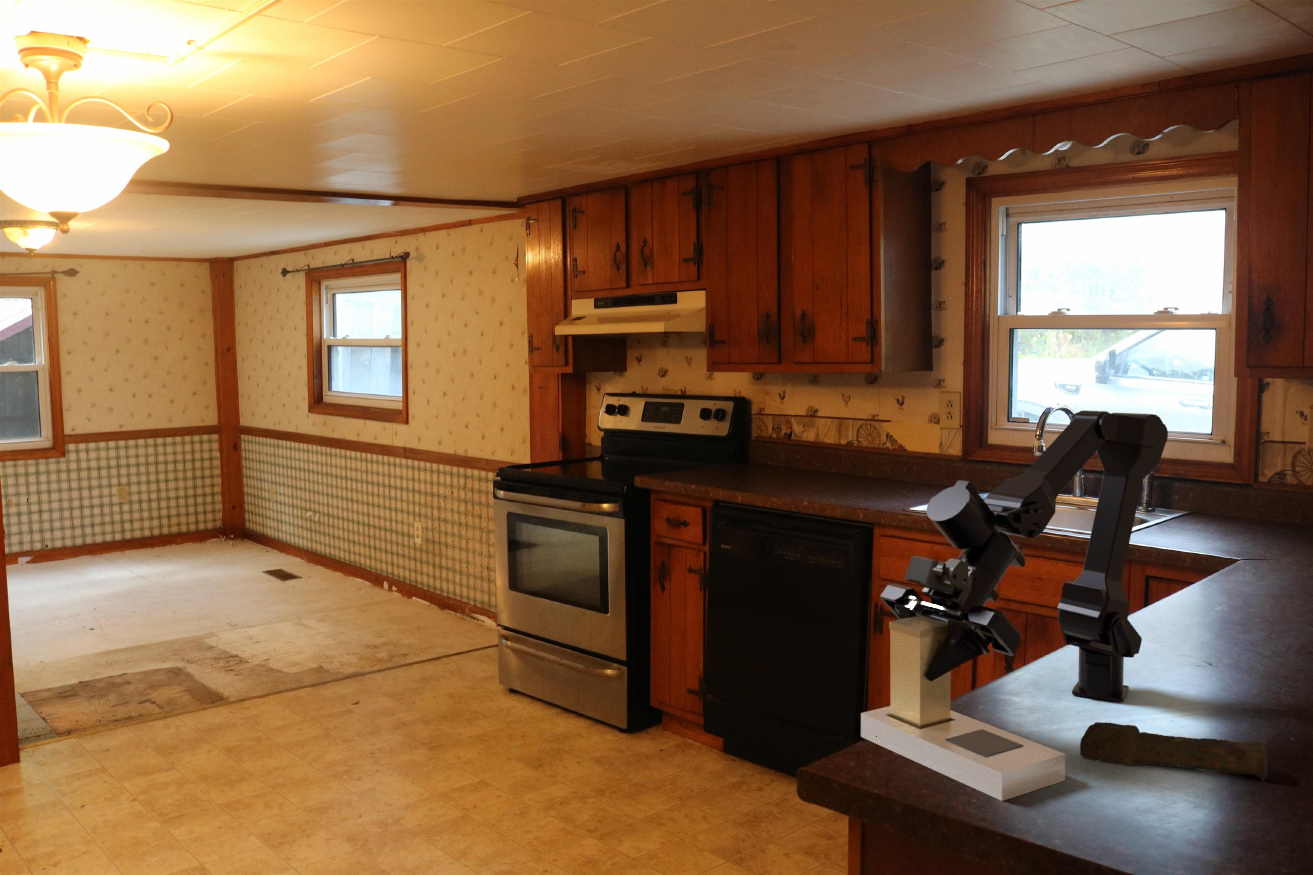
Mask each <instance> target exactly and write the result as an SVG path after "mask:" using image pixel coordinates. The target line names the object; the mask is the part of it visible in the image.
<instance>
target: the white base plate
mask: <svg viewBox="0 0 1313 875" xmlns="http://www.w3.org/2000/svg"><path fill="white" fill-rule="evenodd" d="M876 736H877V737H876ZM860 737H861V738H863V739H865V740H867V741H869V742H872V743H874V744H876V745H879V746H880V747H882V748H885V749H887V750H890V751H892V752H893V753H896V754H898V755H900V756H902V757H904V758H907V759H909V760H911V761H914V762H916V763H918V764H919V765H922V766H924V767H926V768H929V769H931V770H933V771H935V772H938V773H940V774H941V775H944V776H946V777H948V778H950V779H953V780H955V781H958V782H960V783H961V784H963V785H966V786H968V787H970V788H973V789H974V790H977V791H979V792H981V793H983V794H986V795H988V796H990V797H993V798H994V799H997V800H999V801H1001V802H1003V801H1006V800H1010V799H1012V798H1016V797H1019V796H1022V795H1025V794H1028V793H1030V792H1031V793H1032V792H1034V791H1037V790H1039V789H1043V788H1046V787H1049V786H1052V785H1055V784H1059V783H1062V782H1064V781H1066V753H1065V752H1061V751H1059V750H1056V749H1054V748H1052V747H1048V746H1046V745H1043V744H1041V743H1038V742H1035V741H1033V740H1030V739H1027V738H1024V737H1023V736H1019V735H1017V734H1015V733H1011V732H1009V731H1006V730H1004V729H1001V728H998V727H995V726H993V725H990V724H988V723H986V722H983V721H980V720H977V719H974V718H972V717H970V716H967V715H964V714H961V713H959V712H956V711H954V710H952V709H950V722H946V723H943V724H939V725H935V726H931V727H927V728H923V729H917V728H915V727H913V726H910V725H908V724H905V723H903V722H901V721H898V720H896V719H893V718H891V706H890V705H889V706H884V707H881V708H877V709H873V710H872V709H871V710H868V711H864V712H861V713H860Z"/></svg>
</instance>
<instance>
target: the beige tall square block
mask: <svg viewBox="0 0 1313 875" xmlns="http://www.w3.org/2000/svg"><path fill="white" fill-rule="evenodd" d="M947 628H948V623H945V622H942V621H938V620H935V619H931V618H928V617H924V616H921V615H920V616H915V617H910V618H905V619H900V620H899V619H896V620H890V621H888V629H889V631H890V633H889V635H890V640H889V641H890V643H889V644H890V648H889V649H890V650H889V651H890V652H889V654H890V657H889V659H890V660H889V662H890V663H889V664H890V670H889V671H890V672H889V673H890V677H889V678H890V684H889V685H890V693H889V694H890V695H889V696H890V699H889V701H890V705H889V706H891V718H893V719H896V720H898V721H901V722H903V723H905V724H908V725H910V726H913V727H915V728H917V729H923V728H927V727H931V726H935V725H939V724H943V723H946V722H950V710H951V694H952V693H951V692H952V691H951V689H952V688H951V687H952V686H951V684H952V683H951V679H952V678H951V673H952V672H951V671H952V670H951V671H949V672H948V673H946V674H944V675H942V676H941V677H939V678H937V679H935V680H934V681H929V680H928V679H927V678H926V677H925V675H926V673H927V670H928V668H929V666H930V664H931V662H932V661H933V659H934V657H935V656H936V654H937V652H938V651H939V649H940V647H941V645H942V644H943V642H944V640H945V639H946V637H947Z"/></svg>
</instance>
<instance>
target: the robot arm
mask: <svg viewBox="0 0 1313 875" xmlns="http://www.w3.org/2000/svg"><path fill="white" fill-rule="evenodd" d="M1168 438H1169V432H1168V428H1167V426H1166V424H1164V422H1163V420H1162V419H1161V417H1160V416H1158V415H1157V414H1153V413H1133V412H1112V413H1111V412H1109V411H1107V410H1104V411H1103V410H1084V409H1083V410H1080V411H1078V412H1075V413H1073V415H1072V416H1071V418H1070V421H1069V424H1068V425H1067V426H1065V428H1064V429H1063V430H1062V431H1061V432H1060V434H1059V435H1058V436H1057V437H1055V439H1054V440H1053V442H1052V443H1051V444H1049V446H1047V448H1046V449H1045V450H1044V451H1043V452H1042V453H1041V455H1040V456H1039V457H1038V458H1037V459H1036V460H1035V461H1034V462H1033V463H1032V464H1031V465H1030V466H1029V467H1028V468H1027V469H1026V471H1024V472H1023V473H1021V474H1020V475H1016V476H1014V477H1011V478H1009V479H1007V480H1005V481H1003V482H1001V483H1000V484H999V485H998V486H996V487H994V489H992V490H991V491H990V492H989V493H988V494H987V496H986V497H985V498H982V496H981V495H980V493H979V492H978V490H977V488H976V486H975V485H974V484H973V482H972V481H971V480H970V481H968V480H961V479H958V480H956V482H955V484H954V486H949V487H947V488H945V489H943V490H942V491H939V493H937V494H936V495H934V496H932V497H931V498H930V500H929V502H928V503H927V506H926V514H927V517H928V518H929V520H930V521H931V522H932V524H934V526H935V527H936V528H937V530H939V532H940V533H941V534H942V536H943V537H944V538H945V539H946V540H947V541H948V542H949V544H950V545H951V546H952V548H955V549H957V550H961V553H960V554H959V555H958V557H957V559H956V558H951V557H950V558H949V559H948V560H947V561H945V562H942V561H938V560H935V559H932V558H927V557H923V556H917V555H912V556H911V559H910V562H909V565H908V567H907V570H906V574H905V575H904V576H905V577H904V581H906V582H908V583H911V582H912V583H914V584H917V585H919V586H922V587H923V588H922V590H921V591H922V592H921V593H923V594H924V595H925V597H927V598H929V599H930V601H929V602H927V601H925V600H924V599H923V597H922V596H921V595H920V593H918V592H917V591H916V589H915V588H913V587H909V586H906V585H901V584H897V583H891V584H887V585H886V587H885V588H884V590H883V592H882V593H881V594H880V596H879V599H880V600H881V602H882V603H883V604H884V605H885V606H886V607H887V608H888V609H889V610H890V611H891V612H892V614H893V615H894V616H895V617H896V618H897V620H900V619H905V618H910V617H915V616H920V615H921V616H924V617H928V618H931V619H935V620H938V621H942V622H945V623H948V628H947V637H946V639H945V640H944V642H943V644H942V645H941V647H940V649H939V651H938V652H937V654H936V656H935V657H934V659H933V661H932V662H931V664H930V666H929V668H928V670H927V673H926V675H925V677H926V678H927V679H928V680H929V681H934V680H935V679H937V678H939V677H941V676H942V675H944V674H946V673H948V672H949V671H953V670H954V669H956V668H958V667H960V666H962V665H964V664H966V663H968V662H970V661H971V660H974V659H976V658H978V657H980V656H982V655H984V656H985V655H986V656H988V655H989V654H990V653H991V650H990V649H989V646H990V645H992V646H991V647H992V650H994V652H996V653H1000V654H1003V655H1006V656H1008V657H1009V656H1010V657H1013V656H1014V655H1015V654H1016V652H1017V651H1018V649H1019V647H1020V646H1021V644H1022V643H1021V642H1022V638H1021V632H1020V631H1019V630H1018V628H1017V627H1016V626H1015V625H1014V624H1013V622H1011V620H1010V619H1009V617H1008V616H1007V615H1006V614H1005V613H1004V612H1003V610H999V609H997V608H992V607H988V606H985V605H986V604H987V602H988V601H989V602H993V603H996V602H997V600H998V599H999V596H1000V595H999V594H998V592H996V590H995V589H996V588H997V586H998V585H999V583H1000V581H1001V580H1002V579H1003V577H1004V575H1005V573H1007V570H1008V569H1009V568H1010V566H1015V567H1019V568H1020V567H1021V568H1024V567H1025V566H1026V557H1025V555H1024V553H1023V546H1022V545H1021V544H1017V543H1016V544H1015V543H1014V541H1013V540H1012V539H1011V538H1010V536H1015V537H1021V538H1027V539H1035V538H1037V537H1039V536H1040V535H1041V534H1043V532H1044V531H1045V530H1046V527H1047V526H1048V524H1049V523H1050V522H1051V520H1052V519H1053V516H1054V515H1055V514H1056V510H1057V509H1056V508H1057V506H1056V504H1057V502H1056V501H1057V498H1058V496H1059V495H1060V493H1061V492H1062V491H1063V490H1064V489H1065V488H1066V486H1067V485H1068V484H1069V483H1070V482H1071V481H1072V480H1073V479H1074V478H1075V476H1076V475H1077V474H1078V473H1080V471H1081V469H1082V468H1084V466H1085V465H1087V463H1088V461H1090V460H1091V458H1092V457H1093V456H1094V455H1095V454H1097V456H1098V459H1099V462H1100V464H1101V467H1102V469H1103V477H1102V480H1101V481H1102V482H1101V486H1100V491H1099V494H1098V500H1097V505H1096V509H1095V513H1094V518H1093V523H1092V528H1091V532H1090V536H1089V541H1088V544H1087V545H1088V546H1087V549H1086V554H1085V560H1084V563H1083V564H1084V565H1083V569H1082V572H1081V573H1080V574H1079V575H1078V576H1077V578H1076V579H1075V580H1073V582H1072V581H1069V580H1068V581H1067V580H1066V581H1065V582H1064V583H1063V585H1062V587H1061V588H1062V589H1061V596H1060V597H1061V598H1060V601H1059V603H1058V605H1057V607H1056V610H1058V616H1057V619H1058V624H1059V626H1060V630H1061V633H1062V638H1063V642H1064V644H1065V645H1068V646H1074V647H1077V648H1078V675H1077V676H1078V681H1077V682H1076V684H1074V687H1073V688H1072V689H1071V694H1072V695H1074V696H1079V697H1086V698H1094V699H1100V700H1105V701H1106V700H1108V701H1114V702H1119V703H1121V702H1124V701H1125V699H1126V697H1127V695H1128V692H1129V690H1130V686H1129V685H1125V684H1124V671H1125V670H1124V666H1125V665H1124V664H1125V662H1124V660H1125V658H1135V655H1137V654H1139V653H1140V650H1141V644H1142V640H1143V638H1142V637H1141V635H1140V634H1139V633H1138V631H1137V630H1136V628H1135V627H1134V626H1133V624H1132V623H1131V622H1130V620H1129V619H1128V618H1129V609H1130V608H1129V607H1130V603H1129V600H1128V597H1127V594H1126V591H1125V588H1124V586H1123V582H1122V579H1123V575H1124V574H1123V573H1124V569H1125V564H1126V560H1127V555H1128V550H1129V545H1130V540H1131V536H1132V531H1133V528H1134V524H1135V523H1134V522H1135V518H1136V513H1137V508H1138V505H1139V504H1138V503H1139V500H1140V495H1141V490H1142V485H1143V481H1144V480H1145V478H1146V477H1147V476H1148V475H1149V474H1150V473H1151V472H1152V471H1153V470H1154V469H1155V468H1156V467H1157V466H1158V465H1159V463H1160V462H1161V459H1162V456H1163V453H1164V449H1165V447H1166V443H1167V442H1168ZM1009 535H1010V536H1009Z"/></svg>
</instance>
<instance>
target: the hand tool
mask: <svg viewBox="0 0 1313 875" xmlns="http://www.w3.org/2000/svg"><path fill="white" fill-rule="evenodd" d="M1079 754H1080V756H1081V757H1083V758H1086V759H1089V760H1092V761H1096V760H1098V761H1097V762H1101V763H1108V764H1115V765H1121V766H1126V767H1136V766H1137V765H1140V764H1149V765H1161V766H1167V767H1170V766H1171V767H1181V768H1190V769H1196V770H1197V769H1198V770H1202V771H1203V770H1205V771H1212V772H1213V771H1214V772H1215V771H1216V772H1220V773H1229V774H1234V775H1251V776H1255V777H1257V778H1258V779H1259V780H1261V781H1266V778H1267V776H1268V752H1267V749H1266V747H1265V744H1264V742H1262V741H1259V740H1256V741H1251V742H1240V741H1230V740H1227V739H1218V738H1207V737H1206V738H1204V737H1202V738H1192V737H1185V736H1174V735H1164V734H1158V733H1149V732H1146V731H1144V732H1143V731H1142V732H1141V731H1140V729H1139V728H1138V726H1137V725H1131V724H1120V723H1114V722H1108V721H1107V722H1106V721H1105V722H1102V721H1101V722H1100V721H1095V722H1094V723H1092V724H1090V725H1089V726H1088V727H1087V728H1086V730H1085V732H1084V734H1083V736H1082V737H1081V739H1080V743H1079Z"/></svg>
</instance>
